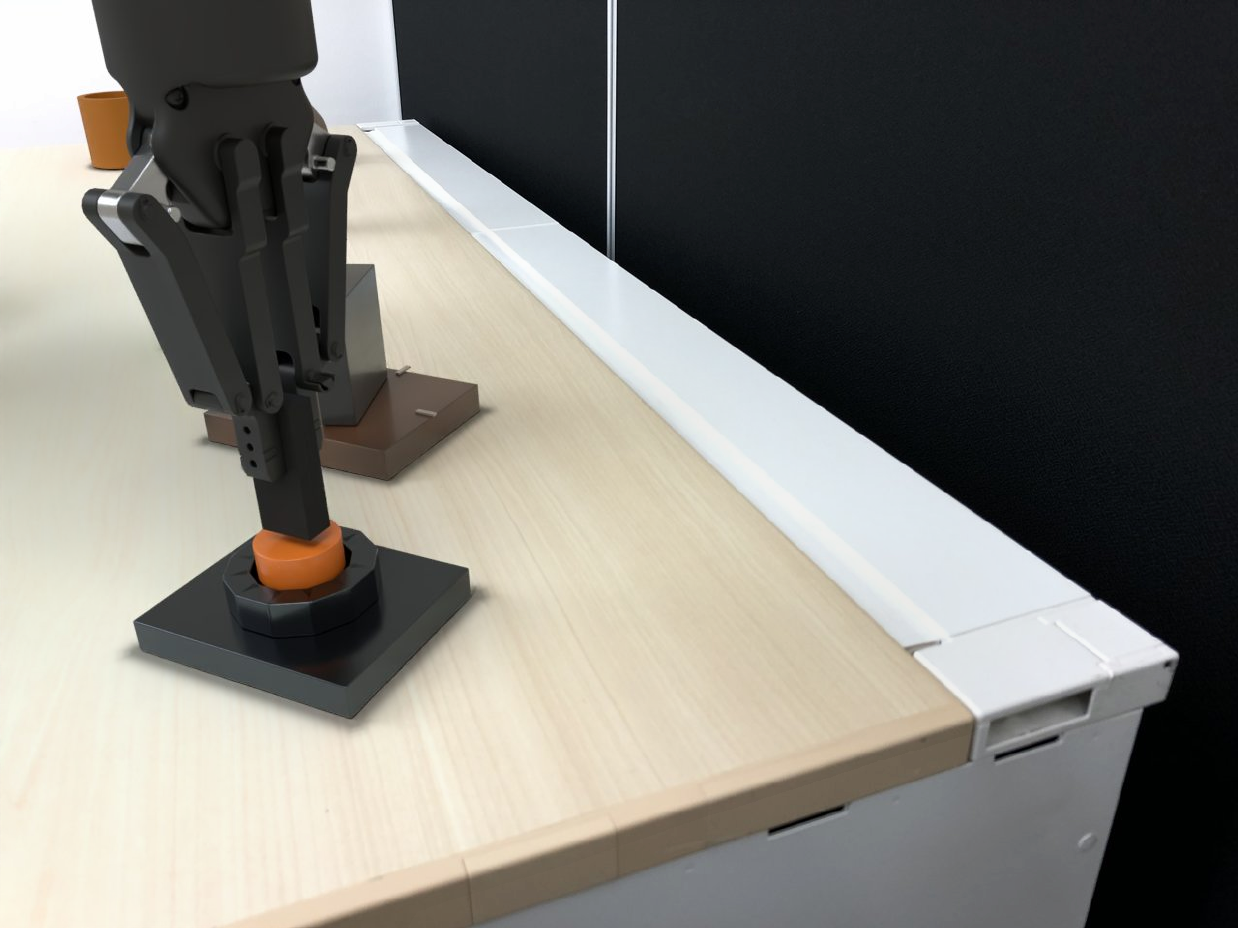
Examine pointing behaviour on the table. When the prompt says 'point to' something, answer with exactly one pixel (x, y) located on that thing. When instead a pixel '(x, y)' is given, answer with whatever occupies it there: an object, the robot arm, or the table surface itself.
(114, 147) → the mug
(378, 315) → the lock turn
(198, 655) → the doorbell
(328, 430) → the plate
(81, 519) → the table surface
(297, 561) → the bell button
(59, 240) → the table surface
